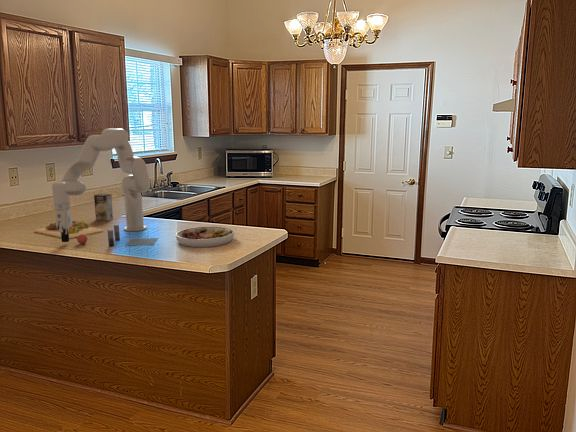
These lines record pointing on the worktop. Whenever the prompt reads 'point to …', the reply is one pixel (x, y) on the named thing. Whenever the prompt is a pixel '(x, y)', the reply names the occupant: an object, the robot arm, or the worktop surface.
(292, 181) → the worktop surface
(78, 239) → the ball
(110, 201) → the coffee box
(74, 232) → the wooden food tray
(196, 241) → the bowl
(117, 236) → the post
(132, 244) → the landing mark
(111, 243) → the post
